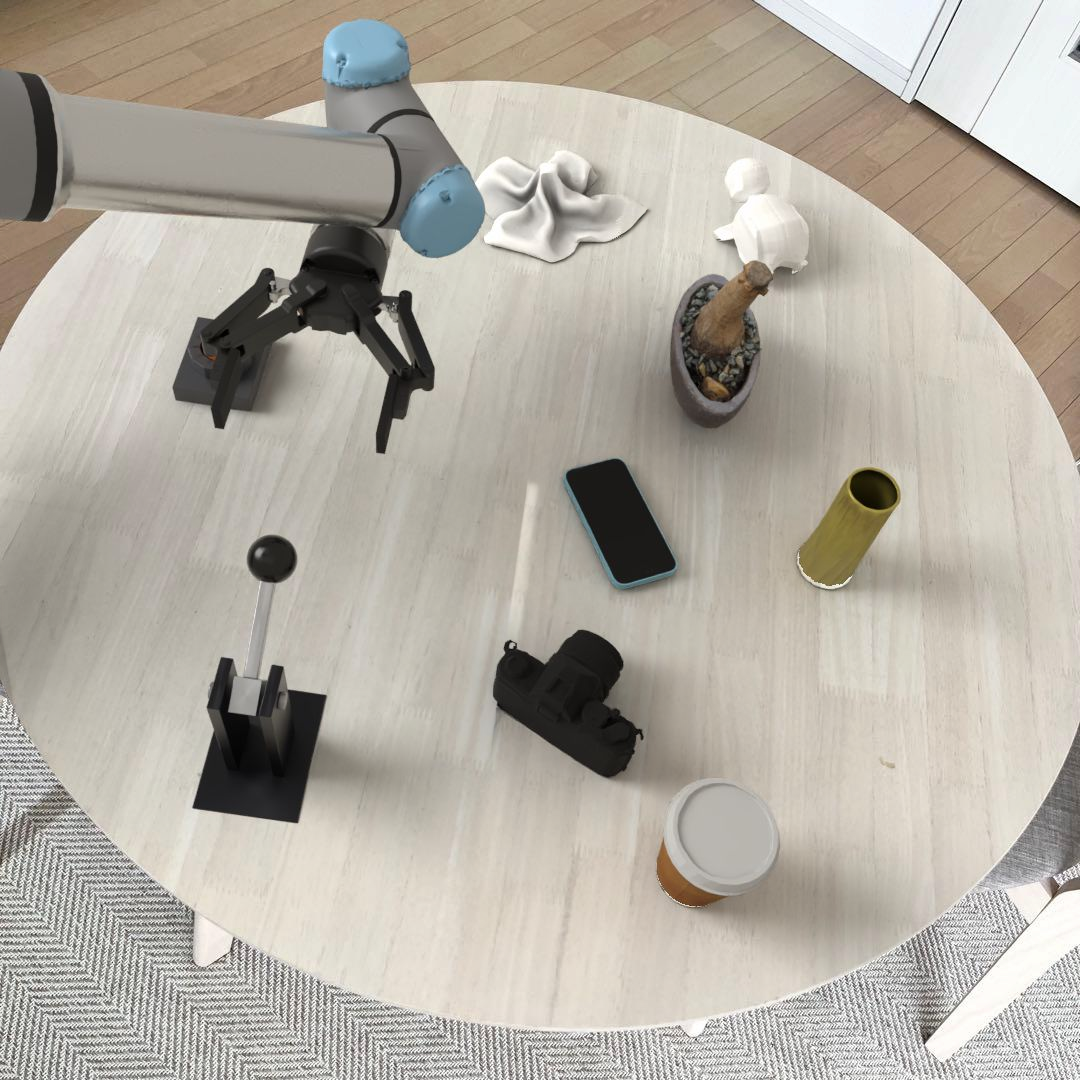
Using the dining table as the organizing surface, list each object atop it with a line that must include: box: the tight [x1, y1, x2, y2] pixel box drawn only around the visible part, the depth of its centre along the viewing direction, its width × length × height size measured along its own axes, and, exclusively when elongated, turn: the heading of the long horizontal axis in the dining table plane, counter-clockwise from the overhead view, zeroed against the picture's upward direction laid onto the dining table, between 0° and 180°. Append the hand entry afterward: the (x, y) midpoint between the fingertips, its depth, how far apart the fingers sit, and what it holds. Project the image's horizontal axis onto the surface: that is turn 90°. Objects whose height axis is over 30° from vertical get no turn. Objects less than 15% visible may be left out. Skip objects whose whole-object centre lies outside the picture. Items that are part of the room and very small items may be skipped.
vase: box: [799, 466, 902, 586], centre depth 112 cm, size 6×6×14 cm
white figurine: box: [713, 157, 810, 276], centre depth 139 cm, size 9×8×15 cm
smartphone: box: [563, 457, 678, 590], centre depth 117 cm, size 7×1×15 cm
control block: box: [171, 316, 273, 413], centre depth 121 cm, size 8×10×4 cm
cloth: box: [474, 149, 630, 263], centre depth 139 cm, size 22×19×6 cm
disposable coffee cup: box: [656, 777, 781, 908], centre depth 95 cm, size 10×10×12 cm
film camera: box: [492, 629, 645, 779], centre depth 103 cm, size 15×10×9 cm, turn 56°
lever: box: [228, 534, 299, 716], centre depth 90 cm, size 14×4×4 cm, turn 173°
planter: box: [669, 260, 775, 430], centre depth 120 cm, size 15×17×20 cm
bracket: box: [191, 656, 327, 824], centre depth 94 cm, size 12×9×15 cm
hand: (298, 432), depth 94 cm, fingers open, 13 cm apart
